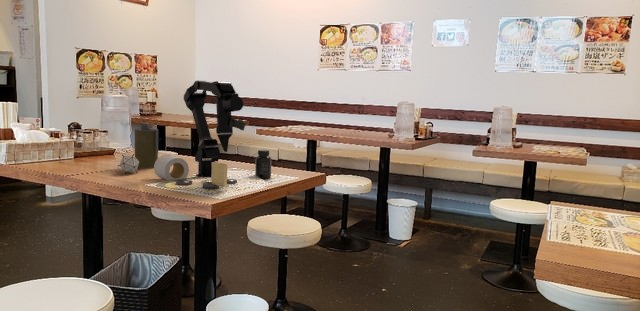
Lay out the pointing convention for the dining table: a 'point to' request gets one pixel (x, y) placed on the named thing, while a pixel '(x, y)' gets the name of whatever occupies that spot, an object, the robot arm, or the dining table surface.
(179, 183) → the tribrach plate
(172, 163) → the toilet paper
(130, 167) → the game die
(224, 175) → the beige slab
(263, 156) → the supplement bottle
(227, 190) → the dining table surface
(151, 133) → the canister
